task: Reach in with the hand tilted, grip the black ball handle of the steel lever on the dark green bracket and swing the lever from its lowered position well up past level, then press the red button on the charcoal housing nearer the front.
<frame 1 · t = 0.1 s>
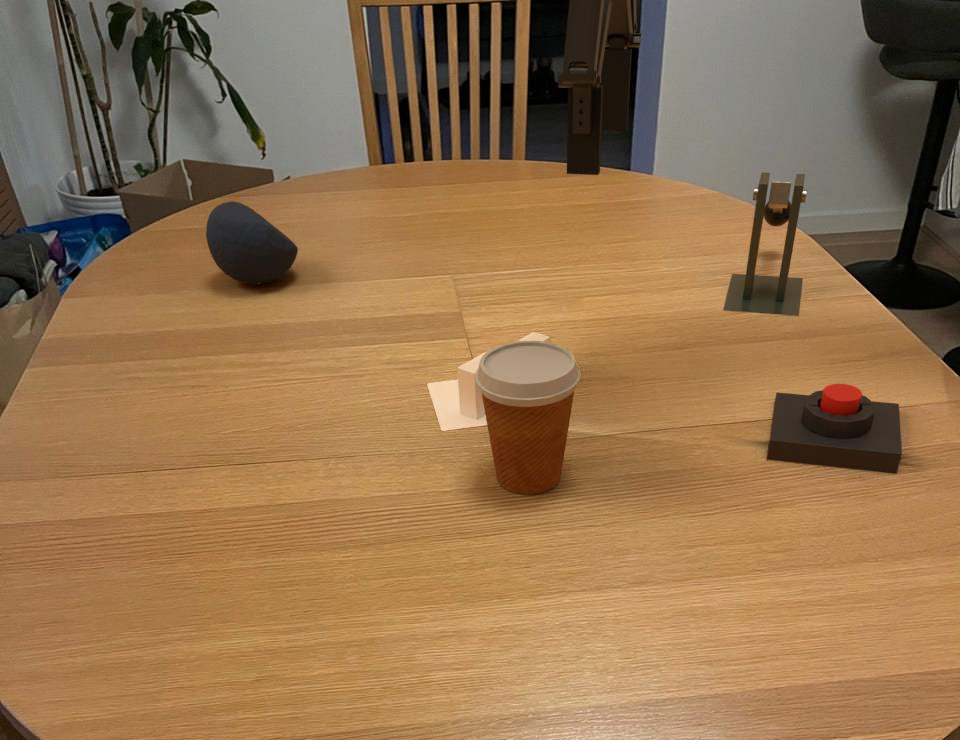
hand: (598, 150, 86), 26 cm above the table, tool pointing down, fingers open, 13 cm apart
bracket: (762, 303, 122), on the table
button: (840, 400, 93), point 4 cm above the table, slide at 0.1 cm
disposable coffee cup: (528, 478, 94), on the table
napkin holder: (500, 399, 106), on the table
decorative stone: (260, 282, 134), on the table
lever: (778, 204, 120), point 10 cm above the table, hinge at -25.0°
button box: (831, 441, 96), on the table
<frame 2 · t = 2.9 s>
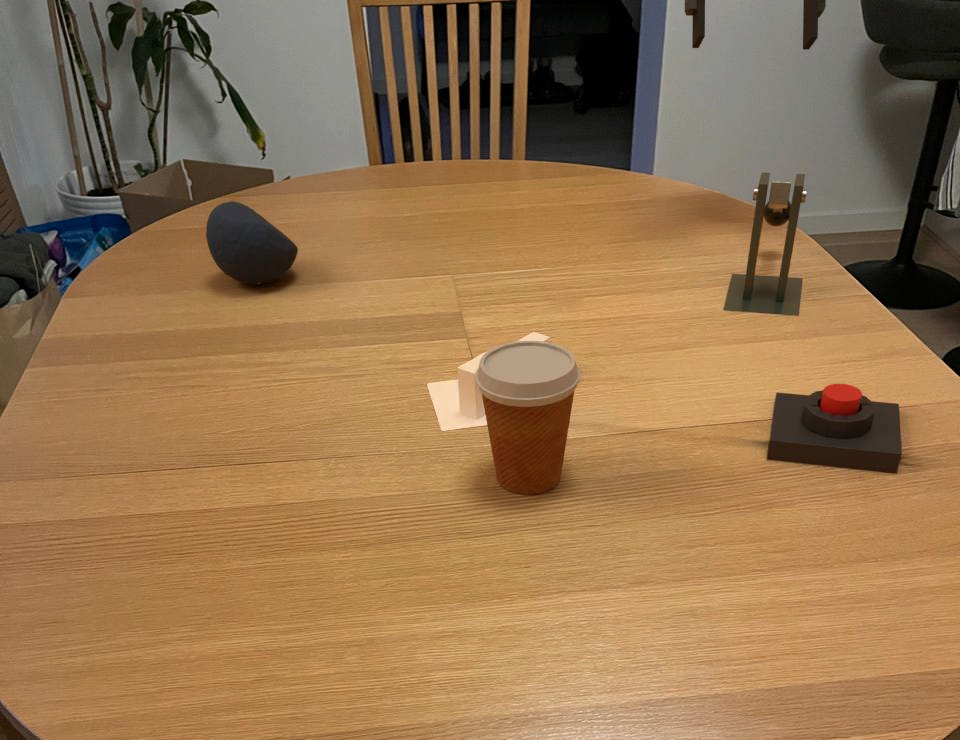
hand: (754, 43, 115), 26 cm above the table, tool tilted 35°, fingers open, 13 cm apart
nothing on the table moved.
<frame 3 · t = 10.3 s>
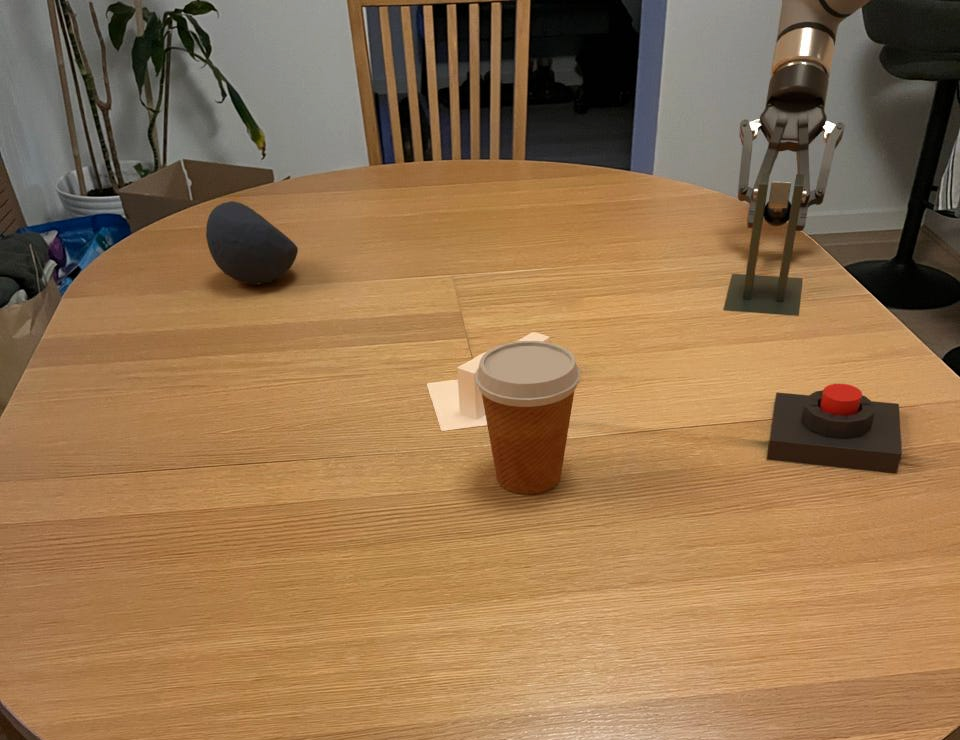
hand: (771, 251, 126), 3 cm above the table, tool tilted 45°, fingers closed on lever, 4 cm apart
lever: (778, 204, 120), point 10 cm above the table, hinge at -25.0°, touching gripper
everything else where it was.
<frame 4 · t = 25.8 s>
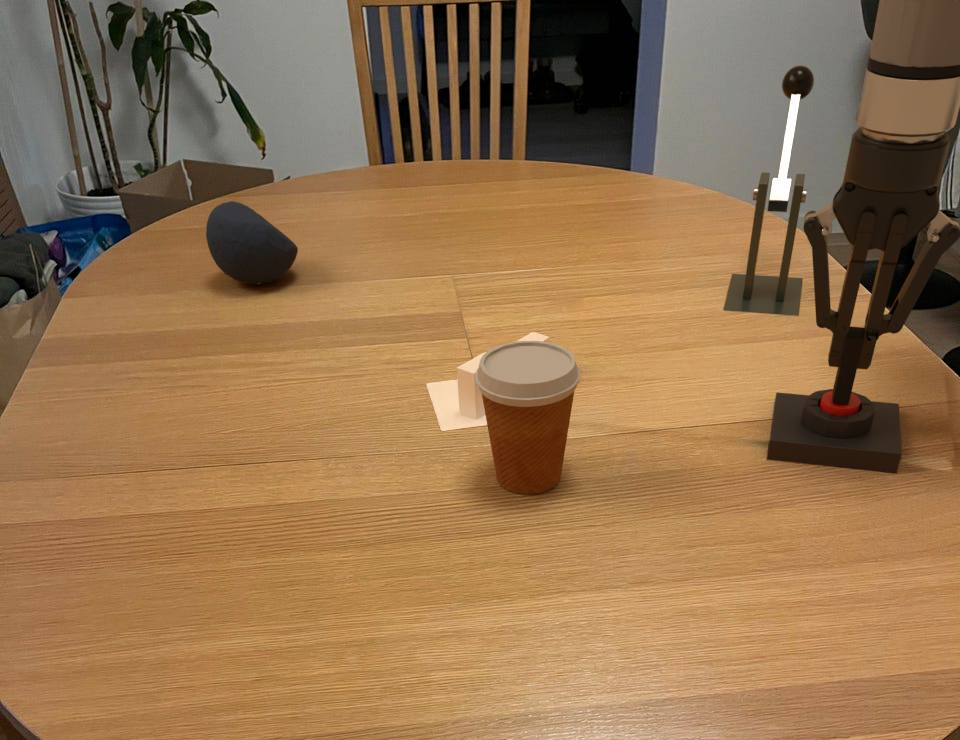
hand: (840, 397, 93), 5 cm above the table, tool pointing down, fingers closed
button: (839, 407, 94), point 4 cm above the table, slide at -0.7 cm, touching gripper
lever: (789, 137, 114), point 18 cm above the table, hinge at 42.8°
everything else where it was.
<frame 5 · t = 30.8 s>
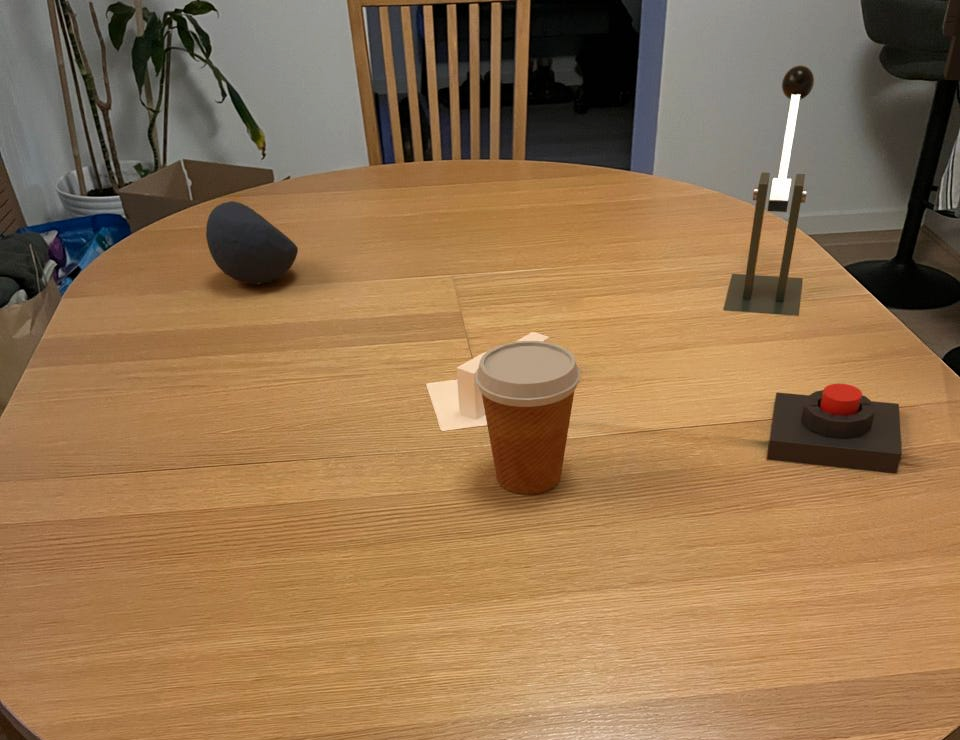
hand: (953, 76, 90), 28 cm above the table, tool pointing down, fingers closed
button: (840, 400, 93), point 4 cm above the table, slide at 0.1 cm
everything else where it was.
at the end: lever at +43° (first picture: -25°); button pushed in 1.0 cm at the most during the clip, back to where it started at the end; button slide at 0.1 cm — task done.
